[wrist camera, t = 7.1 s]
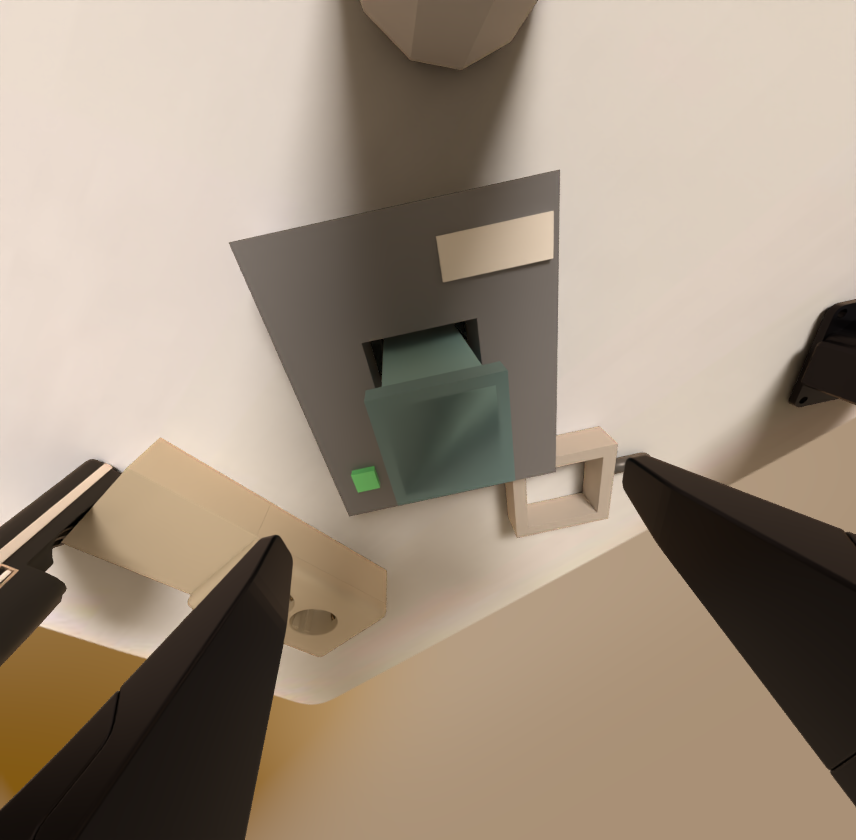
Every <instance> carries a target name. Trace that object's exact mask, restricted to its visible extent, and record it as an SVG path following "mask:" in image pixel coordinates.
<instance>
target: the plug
mask: <svg viewBox="0 0 856 840" xmlns="http://www.w3.org/2000/svg"><path fill="white" fill-rule="evenodd" d="M364 403H365V406H366V409H367V412H368V415H369V418H370V422H371V425H372V428H373V431H374V434H375V437H376V440H377V443H378V446H379V449H380V452H381V455H382V458H383V461H384V465H385V468H386V471H387V474H388V477H389V480H390V483H391V486H392V489H393V492H394V495H395V498H396V501H397V504H398V506H400V505H405V504H409V503H414V502H419V501H423V500H428V499H432V498H437V497H442V496H446V495H451V494H456V493H460V492H465V491H470V490H474V489H479V488H484V487H488V486H493V485H498V484H502V483H507V482H511V481H515V468H514V453H513V439H512V424H511V409H510V395H509V380H508V370H507V369H506V368H505V366H504V365H503V364H502V363H501V362H500V361H498V362H494V363H489V364H485V365H482V364H481V363H480V361H479V360H478V359H477V357H476V356H475V354H474V353H473V351H472V350H471V348H470V347H469V346H468V344H467V343H466V341H465V340H464V338H463V337H462V335H461V334H460V332H459V331H458V330H457V328H456V327H455V325H454V324H453V323H452V324H447V325H443V326H438V327H434V328H429V329H424V330H420V331H415V332H411V333H406V334H402V335H397V336H392V337H388V338H384V344H383V366H382V387H379V388H374V389H369V390H366V391H365V398H364Z"/></svg>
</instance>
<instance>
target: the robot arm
mask: <svg viewBox="0 0 856 840" xmlns="http://www.w3.org/2000/svg"><path fill="white" fill-rule="evenodd" d="M835 399H842V400H844V401H847V402H850V403H852V404H855V405H856V299H854V300H850V301H845V302H841V303H837V304H834V305H833V306H831V307H830V308H829V309H828V310H827V312H826V313H825V316H824V318H823V320H822V323H821V325H820V327H819V330H818V332H817V335H816V337H815V339H814V342H813V344H812V346H811V349H810V351H809V353H808V356H807V358H806V361H805V363H804V365H803V368H802V370H801V372H800V375H799V377H798V379H797V382H796V384H795V387H794V389H793V391H792V394H791V396H790V398H789V403H790V404H792V405H794V406H796V407H802V406H807V405H812V404H816V403H821V402H826V401H830V400H835ZM622 484H623V488H624V490H625V492H626V494H627V496H628V497H629V499H630V501H631V502H632V504H633V505H634V507H635V509H636V510H637V512H638V514H639V515H640V517H641V519H642V520H643V522H644V523H645V525H646V527H647V528H648V530H649V532H650V533H651V535H652V536H653V538H654V540H655V541H656V543H657V544H658V546H659V547H660V548H661V550H662V551H663V552H664V554H665V555H666V556H667V558H668V559H669V560H670V562H671V563H672V564H673V566H674V567H675V568H676V569H677V571H678V572H679V573H680V575H681V576H682V577H683V579H684V580H685V581H686V583H687V584H688V585H689V587H690V588H691V589H692V590H693V592H694V593H695V595H696V596H697V597H698V598H699V600H700V601H701V603H702V604H703V605H704V606H705V608H706V609H707V610H708V612H709V613H710V614H711V616H712V617H713V618H714V620H715V621H716V622H717V624H718V625H719V626H720V628H721V629H722V630H723V632H724V633H725V634H726V636H727V637H728V638H729V639H730V641H731V642H732V643H733V645H734V646H735V647H736V649H737V650H738V651H739V653H740V654H741V655H742V657H743V658H744V659H745V661H746V662H747V663H748V664H749V666H750V667H751V669H752V670H753V671H754V673H755V674H756V675H757V676H758V678H759V679H760V680H761V682H762V683H763V684H764V686H765V687H766V688H767V690H768V691H769V692H770V694H771V695H772V696H773V698H774V699H775V700H776V702H777V703H778V704H779V706H780V707H781V708H782V710H783V711H784V712H785V713H786V715H787V716H788V717H789V719H790V720H791V721H792V723H793V724H794V725H795V727H796V728H797V729H798V731H799V732H800V733H801V735H802V736H803V737H804V739H805V740H806V741H807V743H808V744H809V745H810V746H811V748H812V749H813V750H814V752H815V753H816V754H817V756H818V757H819V758H820V760H821V761H822V762H823V764H824V765H825V766H826V768H827V769H829V770H831V771H830V773H831V775H832V776H833V777H834V779H835V780H836V781H837V783H838V784H839V785H840V787H841V788H842V789H843V791H844V792H845V793H846V794H847V796H848V797H849V798H850V800H851V801H852V802H853V804H854V805H855V806H856V534H853V533H850V532H844V531H843V530H842V529H840V528H837V527H834V526H832V525H829V524H826V523H824V522H821V521H819V520H816V519H813V518H811V517H808V516H806V515H803V514H800V513H798V512H795V511H792V510H790V509H787V508H785V507H782V506H779V505H777V504H773V503H771V502H769V501H766V500H763V499H761V498H758V497H756V496H753V495H750V494H748V493H745V492H742V491H740V490H737V489H735V488H732V487H729V486H727V485H724V484H721V483H719V482H716V481H714V480H711V479H708V478H706V477H703V476H700V475H698V474H695V473H692V472H690V471H687V470H685V469H682V468H679V467H677V466H674V465H671V464H669V463H666V462H664V461H661V460H658V459H656V458H653V457H650V456H648V455H637V456H633V457H629V458H627V460H626V461H625V467H624V474H623V480H622ZM292 569H293V558H292V555H291V553H290V551H289V549H288V548H287V546H286V545H285V543H284V541H283V540H282V538H281V537H280V536H279V535H271V536H267V537H263V538H261V539H260V540H258V541H257V543H256V544H255V545H254V546H253V547H252V548H251V549H250V550H249V551H248V552H247V553H246V554H245V555H244V556H243V557H242V559H241V560H240V561H239V562H238V563H237V564H236V565H235V566H234V567H233V568H232V569H231V570H230V571H229V572H228V573H227V574H226V576H225V577H224V578H223V579H222V580H221V581H220V582H219V583H218V584H217V585H216V586H215V587H214V588H213V589H212V590H211V592H210V593H209V594H208V595H207V596H206V597H205V598H204V599H203V600H202V601H201V602H200V603H199V604H198V605H197V606H196V608H195V609H194V610H193V611H192V612H191V613H190V614H189V615H188V616H187V617H186V618H185V619H184V620H183V621H182V622H181V623H180V625H179V626H178V627H177V628H176V629H175V630H174V631H173V632H172V633H171V634H170V635H169V636H168V637H167V638H166V639H165V641H164V642H163V643H162V644H161V645H160V646H159V647H158V648H157V649H156V650H155V651H154V652H153V653H152V654H151V655H150V656H149V658H148V659H147V660H146V661H145V662H144V663H143V664H142V665H141V666H140V667H139V668H138V669H137V670H136V672H135V673H134V674H133V675H132V676H131V677H130V678H129V679H128V680H127V681H126V682H125V683H124V684H123V685H122V686H121V688H120V691H117V692H116V693H115V694H114V695H113V696H112V697H111V698H110V699H109V700H108V701H107V702H106V703H105V704H104V705H103V706H102V707H101V709H100V710H99V711H98V712H97V713H96V714H95V715H94V716H93V717H92V718H91V719H90V720H89V721H88V723H86V724H85V725H84V726H83V727H82V728H81V729H80V730H79V732H78V733H77V734H76V735H75V736H74V737H73V738H72V739H71V740H70V741H69V742H68V743H67V744H66V745H65V746H64V747H63V748H62V750H60V751H59V752H58V753H57V754H56V755H55V756H54V757H53V758H52V759H51V760H50V761H49V762H48V763H47V764H46V765H45V766H44V767H43V768H42V769H41V770H40V771H39V772H38V773H37V774H36V775H35V776H34V777H33V778H32V779H31V780H30V781H29V782H28V783H27V784H26V785H25V786H24V787H23V788H22V789H21V790H20V791H19V792H18V793H17V794H16V795H15V796H14V797H13V798H12V799H11V800H10V801H9V802H8V803H7V804H6V805H5V806H4V807H3V808H2V809H1V810H0V840H245V836H246V831H247V825H248V820H249V815H250V811H251V806H252V800H253V795H254V790H255V785H256V781H257V775H258V770H259V765H260V760H261V755H262V750H263V745H264V740H265V735H266V730H267V724H268V720H269V715H270V710H271V704H272V700H273V695H274V689H275V684H276V679H277V674H278V669H279V664H280V659H281V654H282V649H283V644H284V639H285V634H286V628H287V621H288V612H289V601H290V591H291V580H292Z"/></svg>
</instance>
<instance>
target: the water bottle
mask: <svg viewBox="0 0 856 840" xmlns="http://www.w3.org/2000/svg"><path fill="white" fill-rule="evenodd" d="M537 1H538V0H360V3H361V5H362V8H363V11H364V12H365V14H366V15H367V16H368V17H369V18H370V19H371V20H372V21H373V22H374V23H375V24H376V25H377V26H378V27H379V28H380V29H381V30H382V31H383V32H384V33H385V34H386V35H387V37H388V38H389V39H390V40H391V41H392V42H393V43H394V44H395V45H396V46H397V47H398V48H399V49H400V50H401V51H402V52H403V53H404V54H405V55H406V56H407V57H408V58H409V59H410V60H411V61H416V62H422V63H427V64H432V65H438V66H443V67H448V68H453V69H459V70H463V69H465V68H467V67H468V66H470V65H472V64H473V63H475V62H477V61H479V60H480V59H482V58H484V57H486V56H487V55H489V54H491V53H492V52H494V51H496V50H498V49H499V48H501V47H503V46H505V45H506V44H508V43H510V42H511V41H512V39H513V38H514V36H515V34H516V33H517V31H518V30H519V28H520V27H521V25H522V24H523V22H524V21H525V19H526V18H527V16H528V14H529V13H530V11H531V10H532V8H533V7H534V5H535V4H536V2H537Z"/></svg>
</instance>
